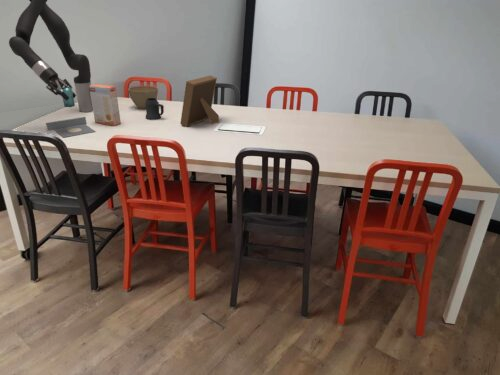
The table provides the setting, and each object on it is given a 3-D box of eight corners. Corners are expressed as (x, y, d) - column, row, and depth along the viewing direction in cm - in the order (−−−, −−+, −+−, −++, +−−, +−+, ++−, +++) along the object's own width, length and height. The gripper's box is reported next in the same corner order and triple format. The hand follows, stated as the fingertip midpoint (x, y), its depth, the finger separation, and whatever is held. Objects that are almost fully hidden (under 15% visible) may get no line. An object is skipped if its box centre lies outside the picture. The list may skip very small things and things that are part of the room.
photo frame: (180, 125, 209) (178, 79, 198) (203, 116, 226) (202, 74, 215) (201, 130, 202) (200, 83, 191) (224, 121, 219) (224, 77, 208)
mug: (142, 118, 220) (140, 99, 215) (152, 115, 227) (150, 96, 222) (158, 121, 215) (157, 102, 210) (168, 117, 223) (166, 98, 218)
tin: (73, 104, 195) (69, 86, 191) (76, 106, 191) (72, 88, 187) (63, 105, 192) (59, 87, 188) (65, 107, 188) (62, 89, 184)
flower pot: (155, 111, 234) (153, 91, 229) (126, 110, 235) (124, 91, 229) (162, 104, 251) (160, 85, 245) (135, 103, 251) (133, 85, 245)
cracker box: (121, 123, 210) (116, 86, 201) (113, 126, 205) (108, 88, 196) (102, 120, 215) (96, 83, 206) (94, 122, 211) (88, 85, 201)
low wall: (86, 123, 209) (84, 116, 207) (86, 124, 208) (85, 117, 207) (47, 130, 197) (45, 122, 196) (47, 130, 197) (46, 123, 195)
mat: (85, 124, 207) (85, 123, 207) (95, 131, 197) (95, 131, 196) (54, 129, 198) (54, 129, 198) (63, 137, 187) (63, 137, 187)
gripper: (38, 69, 178) (66, 96, 181) (58, 64, 191) (83, 90, 194) (31, 80, 181) (58, 106, 185) (51, 75, 194) (76, 99, 197)
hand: (71, 97), depth 189 cm, fingers closed on tin, 5 cm apart
